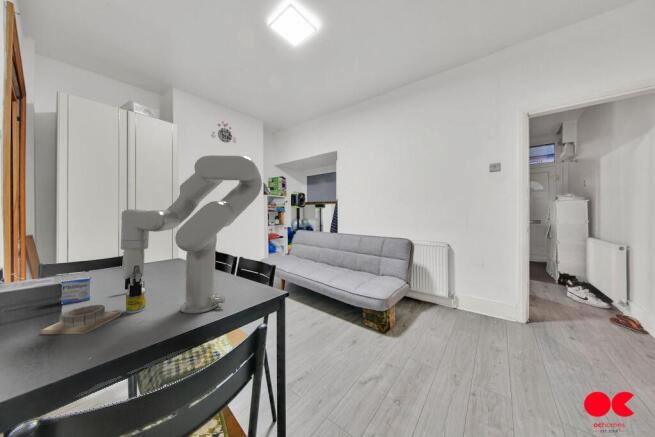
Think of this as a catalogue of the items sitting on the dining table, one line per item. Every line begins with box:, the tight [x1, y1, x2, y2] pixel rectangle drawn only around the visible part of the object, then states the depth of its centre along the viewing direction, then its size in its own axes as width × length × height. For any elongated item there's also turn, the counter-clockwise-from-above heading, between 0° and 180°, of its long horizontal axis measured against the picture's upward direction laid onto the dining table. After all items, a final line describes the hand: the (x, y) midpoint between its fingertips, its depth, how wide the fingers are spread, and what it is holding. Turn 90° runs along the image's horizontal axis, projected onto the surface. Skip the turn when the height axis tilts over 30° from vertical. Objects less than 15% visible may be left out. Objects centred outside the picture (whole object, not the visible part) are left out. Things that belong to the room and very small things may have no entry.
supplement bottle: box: [125, 283, 147, 314], centre depth 82 cm, size 5×5×10 cm
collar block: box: [40, 304, 122, 335], centre depth 72 cm, size 12×12×4 cm
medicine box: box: [60, 276, 92, 305], centre depth 90 cm, size 8×4×9 cm, turn 131°
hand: (132, 292), depth 82 cm, fingers open, 9 cm apart
